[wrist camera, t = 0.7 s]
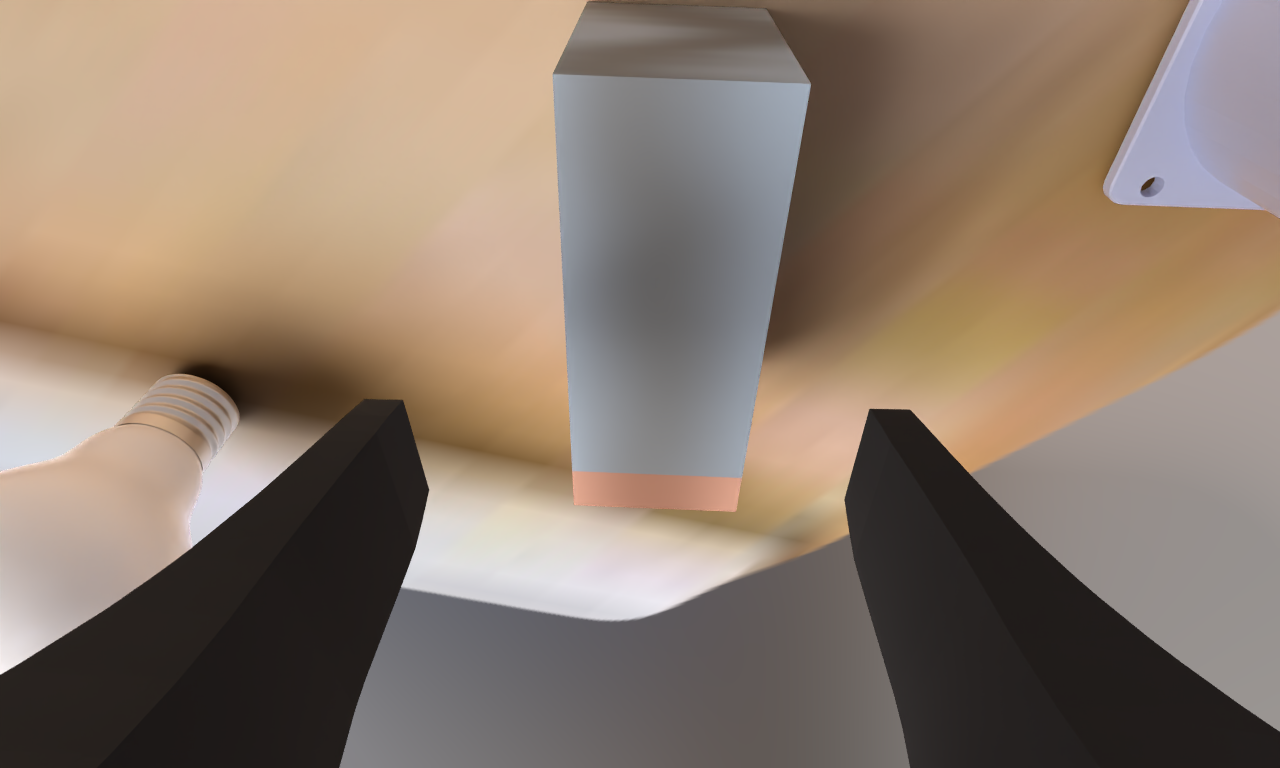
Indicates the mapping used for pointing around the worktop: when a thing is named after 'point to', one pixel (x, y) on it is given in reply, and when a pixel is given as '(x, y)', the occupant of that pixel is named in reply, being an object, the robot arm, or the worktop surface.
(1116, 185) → the robot arm
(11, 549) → the lightbulb
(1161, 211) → the worktop surface
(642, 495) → the painted block
